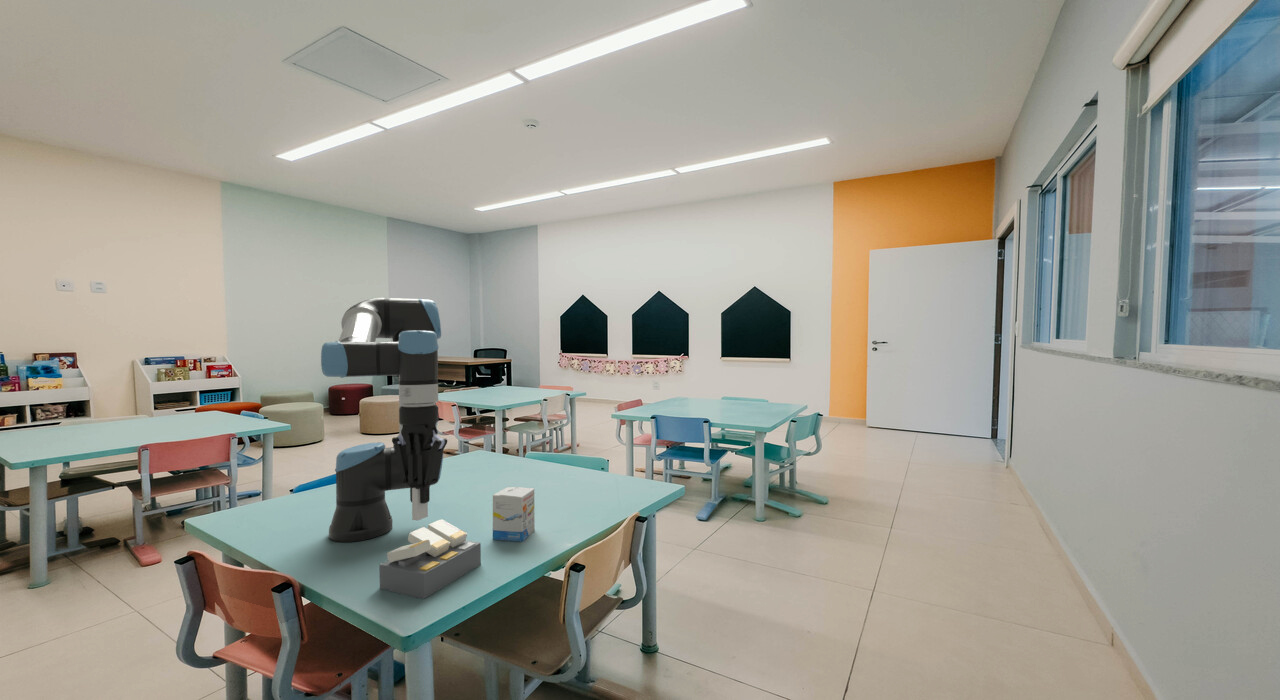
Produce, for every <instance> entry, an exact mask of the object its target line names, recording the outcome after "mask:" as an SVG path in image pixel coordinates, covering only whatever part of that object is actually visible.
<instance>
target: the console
mask: <svg viewBox="0 0 1280 700" xmlns="http://www.w3.org/2000/svg"><path fill="white" fill-rule="evenodd" d="M481 546H482V543H481V542H477V541H472V540H467V539H466V541H465V542H463V543H461V544H459V545H457V546H455V547H451V546H449V549H448V551H446V552H444V553H442V554H440V555H438V556H436V557H433V556H432V555H430V554H428V553H427V552H424V553H422V554H420V555H418V556H415V557H410V558H406V559H402V560H397V561H393V562H389V561H388V560H386V561H384V562H382V563H380V564H378V565H379V589H381V590H385V591H389V592H393V593H397V594H401V595H405V596H411V597H414V598H418V599H422V600H423V599H424V600H425V599H426V598H429V596H431V595H434V594H435V593H436V592H438V591H439V590H442V588H443V589H444V587H446V586H448V585H450V584H451V583H453V582H455V581H456V580H457V579H459V578H462V577H463V576H465V575H466V574H467V573H469V572H471V571H473V570H475V568H477V567H479V566H481V564H482V556H481V553H482V551H481V549H482V547H481Z"/></svg>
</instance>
